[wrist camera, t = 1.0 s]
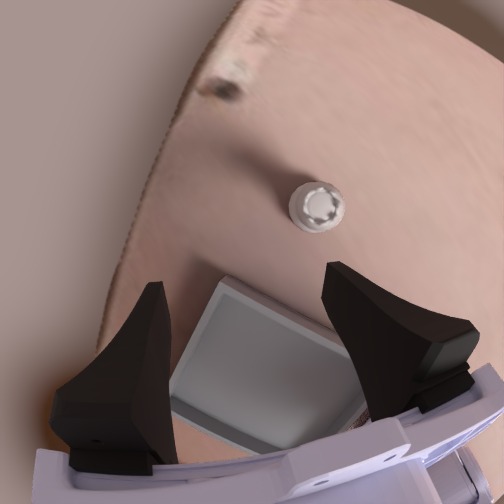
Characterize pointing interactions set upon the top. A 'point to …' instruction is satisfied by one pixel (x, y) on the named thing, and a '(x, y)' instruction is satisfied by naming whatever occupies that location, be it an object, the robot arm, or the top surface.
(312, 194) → the rook chess piece
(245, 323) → the box
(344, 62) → the top surface
